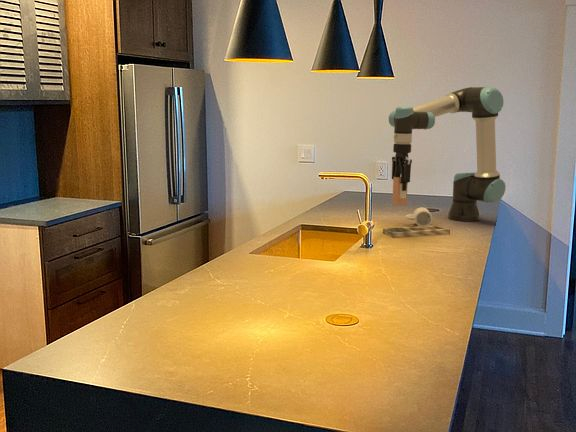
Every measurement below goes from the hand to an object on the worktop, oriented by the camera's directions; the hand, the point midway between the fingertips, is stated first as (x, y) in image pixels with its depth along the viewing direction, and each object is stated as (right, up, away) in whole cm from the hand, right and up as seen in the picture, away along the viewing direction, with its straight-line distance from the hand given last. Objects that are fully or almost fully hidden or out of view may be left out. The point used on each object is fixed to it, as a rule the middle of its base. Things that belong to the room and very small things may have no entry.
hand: (399, 197), depth 284 cm
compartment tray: (+8, -16, +6) cm, 19 cm away
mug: (+13, -13, +24) cm, 30 cm away
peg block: (0, -3, +1) cm, 3 cm away
